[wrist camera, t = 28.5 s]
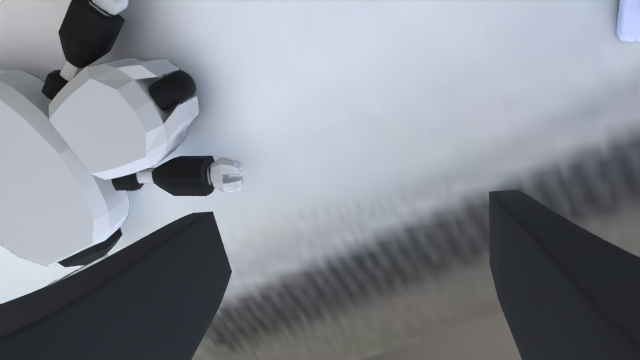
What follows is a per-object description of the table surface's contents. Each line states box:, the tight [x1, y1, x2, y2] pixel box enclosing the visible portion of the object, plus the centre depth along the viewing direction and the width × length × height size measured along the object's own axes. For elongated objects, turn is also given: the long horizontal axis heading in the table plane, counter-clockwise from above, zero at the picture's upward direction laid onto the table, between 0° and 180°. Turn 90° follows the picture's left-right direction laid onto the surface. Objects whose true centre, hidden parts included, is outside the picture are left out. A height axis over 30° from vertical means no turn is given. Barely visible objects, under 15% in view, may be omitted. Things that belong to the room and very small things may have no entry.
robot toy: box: [0, 0, 244, 285], centre depth 21 cm, size 12×4×15 cm
